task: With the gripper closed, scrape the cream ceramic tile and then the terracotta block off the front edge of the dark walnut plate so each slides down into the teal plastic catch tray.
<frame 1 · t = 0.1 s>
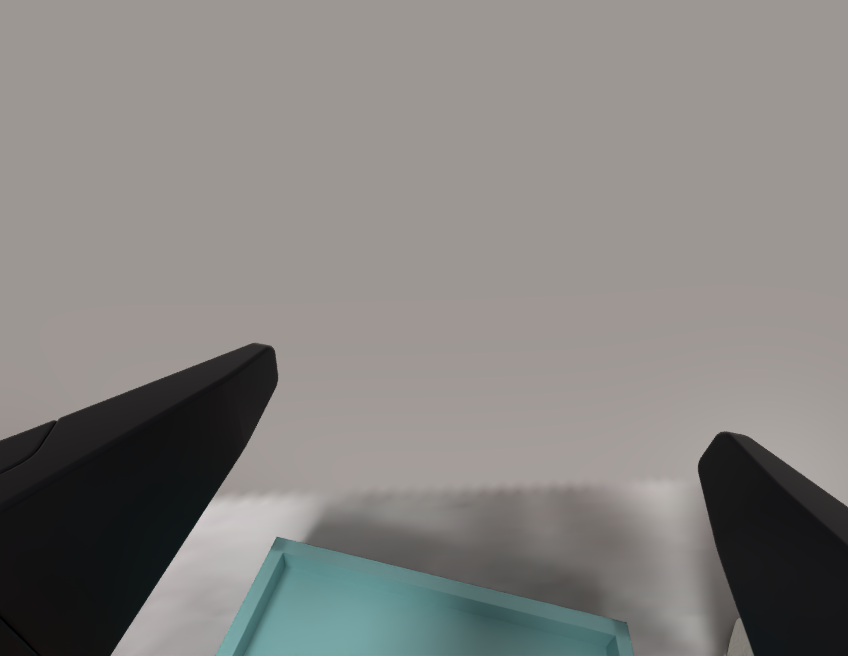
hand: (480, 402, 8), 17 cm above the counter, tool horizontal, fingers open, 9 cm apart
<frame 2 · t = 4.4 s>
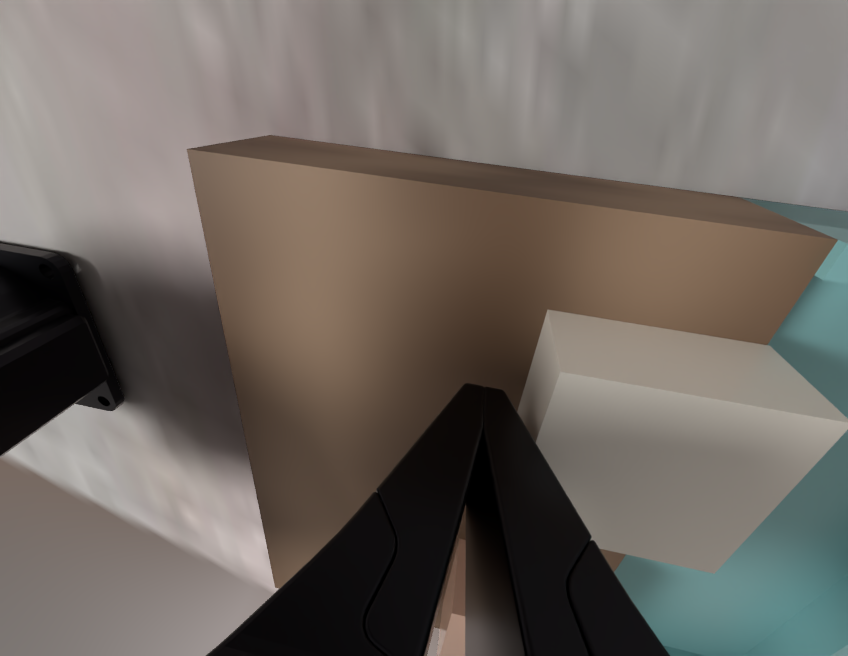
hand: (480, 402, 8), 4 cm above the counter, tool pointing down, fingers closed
terracotta block: (511, 587, 13), point 3 cm above the counter, touching walnut plate
walnut plate: (447, 414, 13), on the counter
catch tray: (725, 469, 12), on the counter
cream tile: (618, 406, 8), point 3 cm above the counter, touching gripper
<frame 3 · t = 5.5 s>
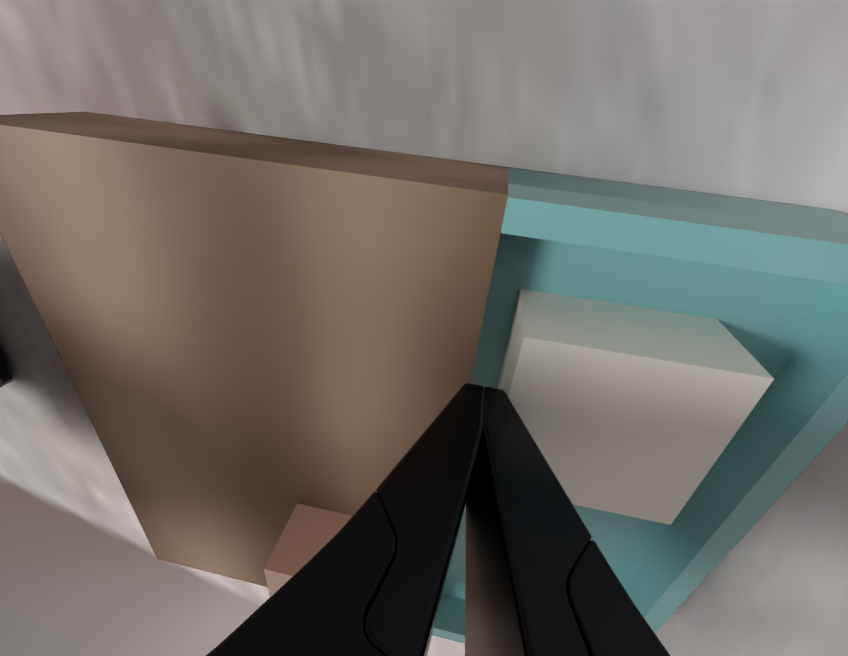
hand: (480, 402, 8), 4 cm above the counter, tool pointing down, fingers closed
terracotta block: (358, 553, 13), point 3 cm above the counter, touching walnut plate
walnut plate: (304, 387, 14), on the counter
catch tray: (563, 438, 13), on the counter
cream tile: (586, 378, 9), point 2 cm above the counter, touching catch tray, gripper
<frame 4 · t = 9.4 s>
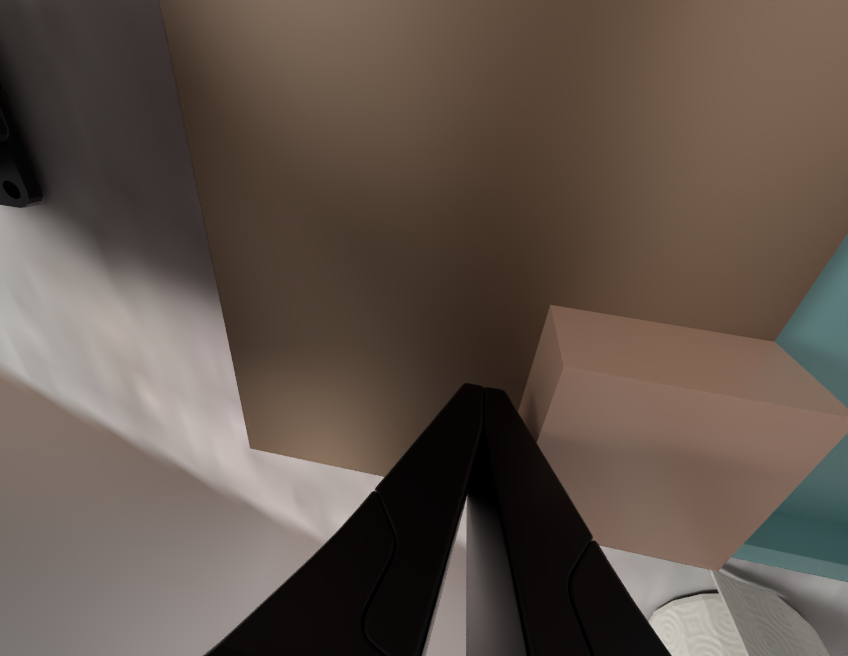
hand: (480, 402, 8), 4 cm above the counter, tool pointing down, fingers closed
terracotta block: (620, 403, 8), point 3 cm above the counter, touching gripper, walnut plate
walnut plate: (494, 160, 9), on the counter
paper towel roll: (727, 613, 17), on the counter
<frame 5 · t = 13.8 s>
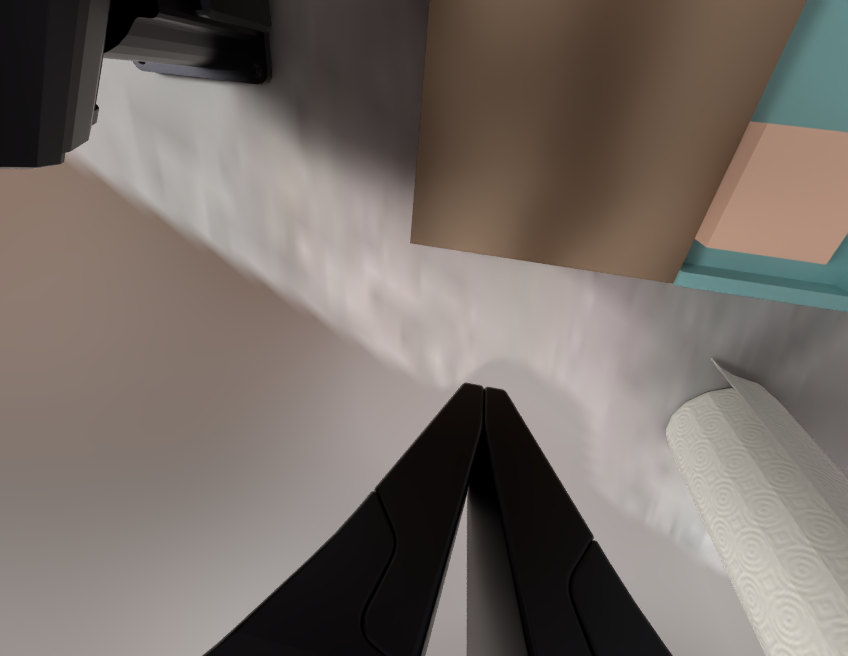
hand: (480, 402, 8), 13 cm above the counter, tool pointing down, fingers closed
terracotta block: (764, 186, 15), point 2 cm above the counter, touching catch tray
walnut plate: (583, 37, 15), on the counter
catch tray: (840, 62, 14), on the counter
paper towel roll: (726, 416, 22), on the counter
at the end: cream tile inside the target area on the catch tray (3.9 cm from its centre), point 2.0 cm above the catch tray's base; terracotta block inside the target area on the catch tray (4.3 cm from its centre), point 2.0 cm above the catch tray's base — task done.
